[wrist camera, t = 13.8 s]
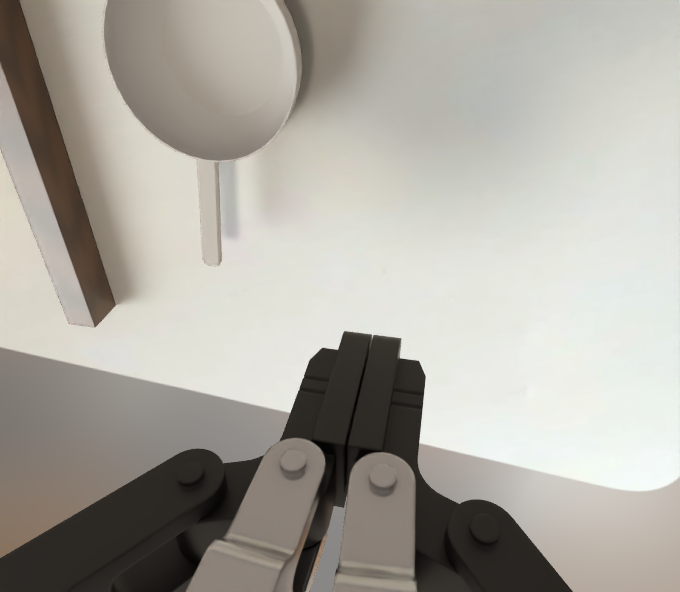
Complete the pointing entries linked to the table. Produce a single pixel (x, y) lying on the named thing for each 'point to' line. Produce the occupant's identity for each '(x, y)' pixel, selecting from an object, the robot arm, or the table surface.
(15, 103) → the walnut rail
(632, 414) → the table surface
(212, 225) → the saucepan
